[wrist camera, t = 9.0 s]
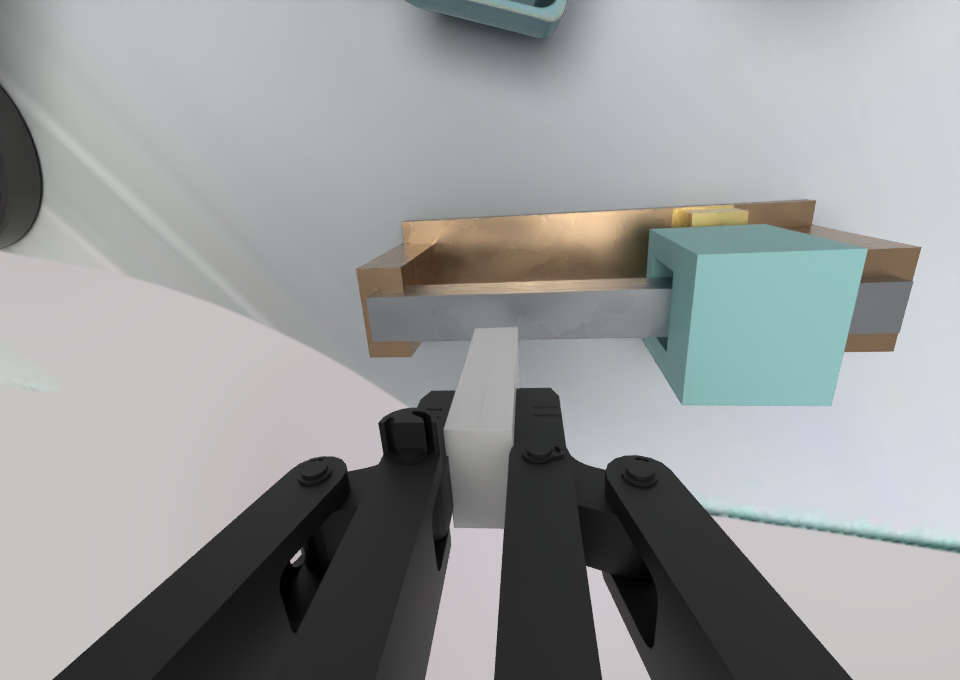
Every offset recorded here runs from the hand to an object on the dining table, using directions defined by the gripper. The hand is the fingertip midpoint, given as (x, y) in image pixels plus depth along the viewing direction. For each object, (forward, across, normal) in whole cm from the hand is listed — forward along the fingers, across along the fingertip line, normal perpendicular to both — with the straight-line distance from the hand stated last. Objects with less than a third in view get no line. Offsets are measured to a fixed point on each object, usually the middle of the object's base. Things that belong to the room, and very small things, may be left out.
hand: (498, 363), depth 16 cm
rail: (+17, +6, -1) cm, 18 cm away
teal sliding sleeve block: (+9, +11, 0) cm, 14 cm away
